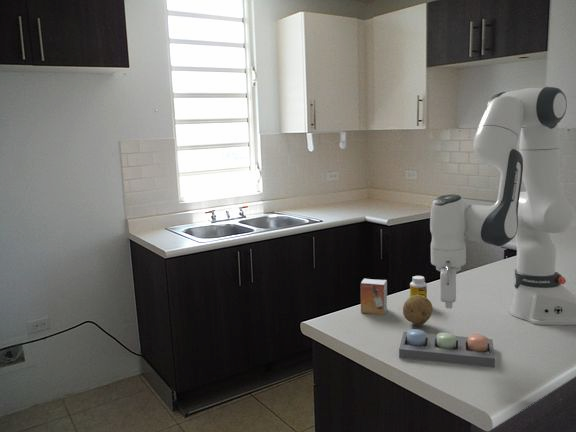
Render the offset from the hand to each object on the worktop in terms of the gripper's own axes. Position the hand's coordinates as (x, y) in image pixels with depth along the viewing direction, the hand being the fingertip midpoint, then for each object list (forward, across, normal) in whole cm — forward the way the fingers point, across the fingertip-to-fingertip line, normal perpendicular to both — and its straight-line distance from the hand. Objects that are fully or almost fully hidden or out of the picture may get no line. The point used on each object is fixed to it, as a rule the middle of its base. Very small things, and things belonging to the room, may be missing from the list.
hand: (449, 306), depth 136 cm
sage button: (+11, 0, +1) cm, 11 cm away
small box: (+13, +27, +25) cm, 39 cm away
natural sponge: (+13, +17, +10) cm, 24 cm away
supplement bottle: (+14, +35, +11) cm, 39 cm away
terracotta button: (+11, 0, -7) cm, 13 cm away
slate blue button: (+11, 0, +9) cm, 14 cm away
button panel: (+13, 0, +1) cm, 13 cm away
